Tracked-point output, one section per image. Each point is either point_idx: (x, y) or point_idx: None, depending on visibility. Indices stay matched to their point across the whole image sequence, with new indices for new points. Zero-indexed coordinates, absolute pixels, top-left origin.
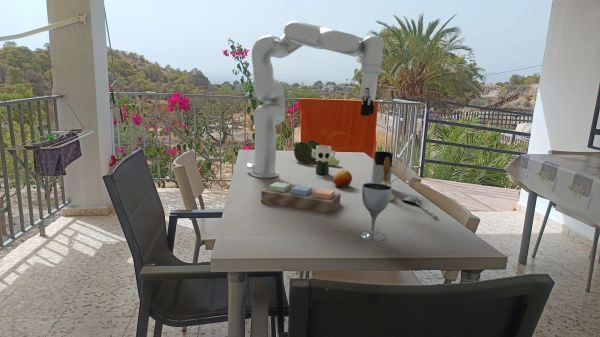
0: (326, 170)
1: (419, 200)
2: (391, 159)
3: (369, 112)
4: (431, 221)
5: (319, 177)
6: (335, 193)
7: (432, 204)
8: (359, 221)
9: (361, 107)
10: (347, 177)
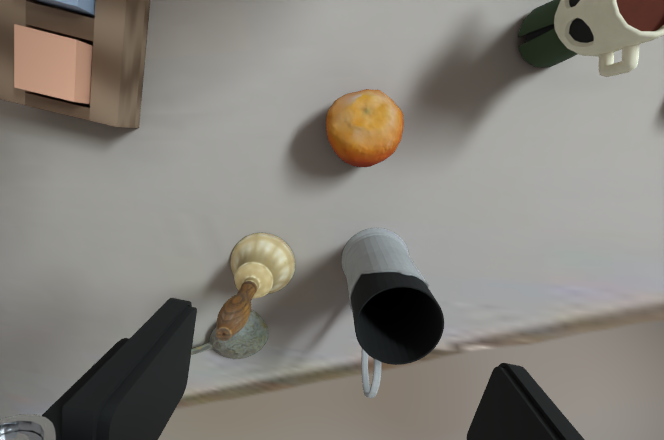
0: (533, 53)
1: (224, 355)
2: (372, 344)
3: (486, 419)
4: (97, 354)
5: (473, 31)
6: (107, 108)
7: (243, 379)
8: (9, 184)
9: (104, 369)
10: (335, 149)
